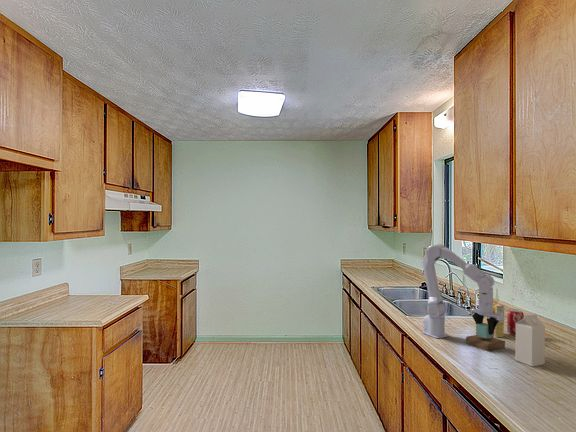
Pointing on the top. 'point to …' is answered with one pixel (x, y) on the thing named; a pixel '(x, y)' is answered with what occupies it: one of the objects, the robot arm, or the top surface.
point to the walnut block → (485, 343)
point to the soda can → (513, 320)
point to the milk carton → (530, 341)
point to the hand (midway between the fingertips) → (485, 332)
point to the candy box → (500, 325)
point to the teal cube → (483, 330)
